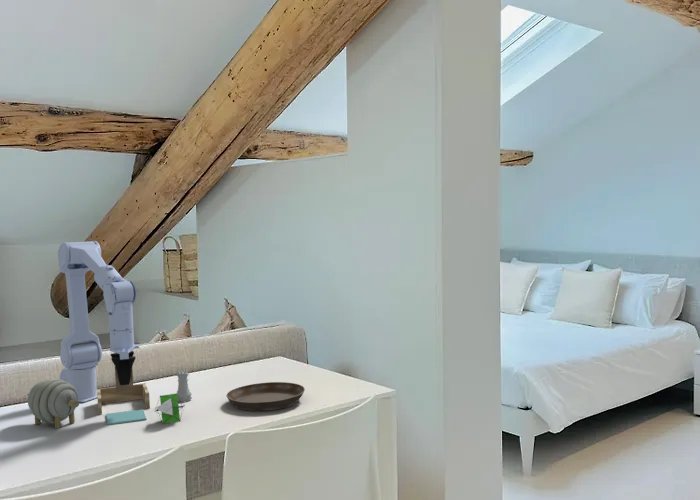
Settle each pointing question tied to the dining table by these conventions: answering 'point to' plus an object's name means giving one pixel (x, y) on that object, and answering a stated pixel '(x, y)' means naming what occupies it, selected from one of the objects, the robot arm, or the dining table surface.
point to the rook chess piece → (183, 387)
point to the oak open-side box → (122, 395)
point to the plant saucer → (265, 396)
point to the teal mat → (125, 417)
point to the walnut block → (123, 387)
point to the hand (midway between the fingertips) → (124, 382)
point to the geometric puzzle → (169, 408)
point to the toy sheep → (53, 401)
